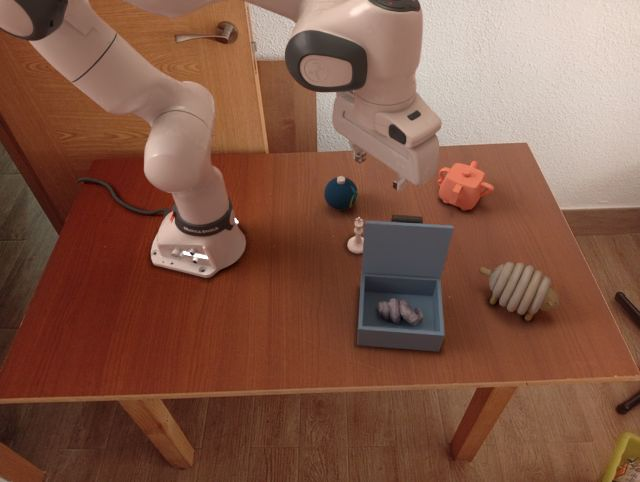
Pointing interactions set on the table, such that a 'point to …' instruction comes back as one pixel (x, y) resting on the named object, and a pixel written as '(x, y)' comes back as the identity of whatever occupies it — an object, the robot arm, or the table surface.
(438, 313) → the chest
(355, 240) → the chess piece
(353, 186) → the christmas ornament
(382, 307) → the seashell
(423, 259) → the lid
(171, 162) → the robot arm
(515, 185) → the table surface
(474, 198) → the teapot
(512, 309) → the toy sheep
